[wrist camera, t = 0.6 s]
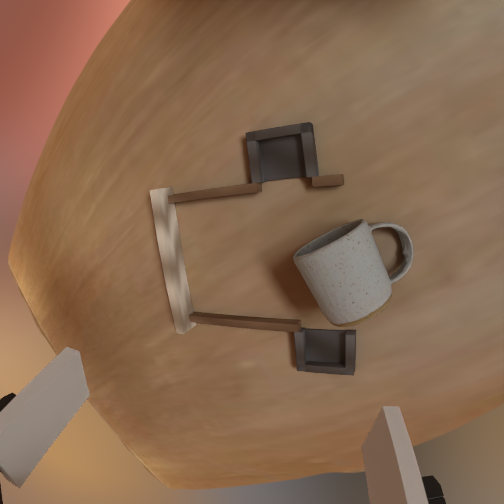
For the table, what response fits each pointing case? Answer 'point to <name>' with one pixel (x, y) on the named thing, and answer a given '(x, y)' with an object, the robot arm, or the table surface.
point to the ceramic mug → (350, 272)
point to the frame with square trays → (262, 169)
